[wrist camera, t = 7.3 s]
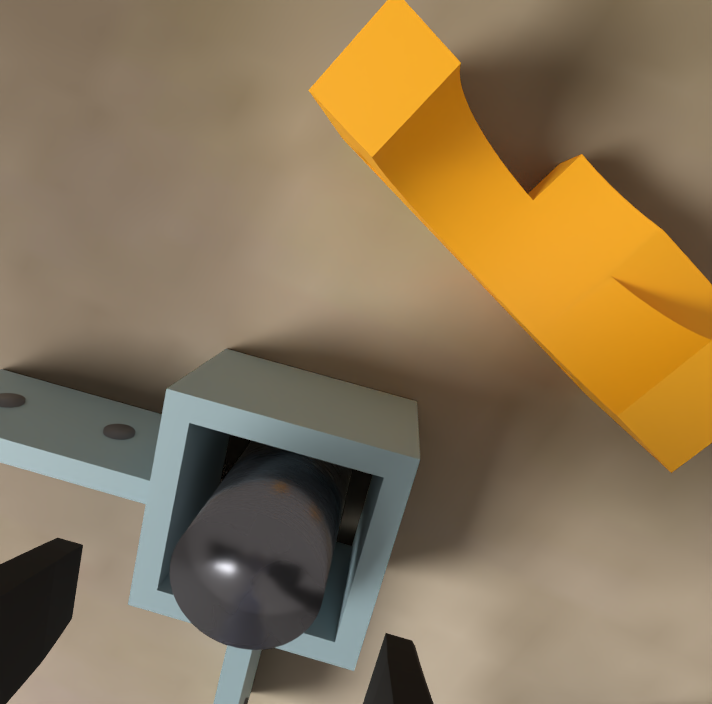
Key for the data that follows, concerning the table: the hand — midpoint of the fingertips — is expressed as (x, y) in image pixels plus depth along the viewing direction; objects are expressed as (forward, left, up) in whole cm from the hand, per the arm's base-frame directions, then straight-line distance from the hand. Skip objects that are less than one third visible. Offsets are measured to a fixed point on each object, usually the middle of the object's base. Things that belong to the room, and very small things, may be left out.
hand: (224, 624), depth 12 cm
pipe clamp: (+11, -5, -9) cm, 15 cm away
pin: (0, 0, -9) cm, 8 cm away
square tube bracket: (-4, +4, -9) cm, 10 cm away
